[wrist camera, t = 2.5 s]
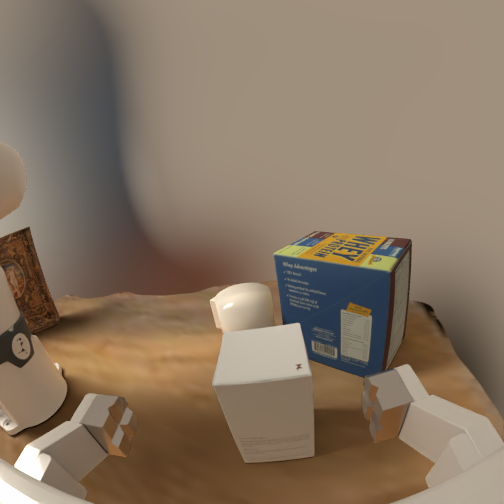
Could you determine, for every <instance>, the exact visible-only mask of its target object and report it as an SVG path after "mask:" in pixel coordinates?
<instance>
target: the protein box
mask: <svg viewBox="0 0 504 504" xmlns="http://www.w3.org/2000/svg"><path fill="white" fill-rule="evenodd" d="M411 248H412V241H411V239H403V238H389V237H378V236H366V235H355V234H342V233H329V232H317V231H315V232H313V233H311V234H309V235H307V236H306V237H304V238H302V239H300V240H298V241H296V242H295V243H293V244H291V245H289V246H287V247H285V248H283V249H281V250H279V251H277V252H275V253H274V254H273V255H274V260H275V267H276V275H277V281H278V289H279V297H280V304H281V312H282V320H283V325H287V324H294V323H300V326H301V331H302V335H303V338H304V342H305V346H306V350H307V354H308V358H309V359H311V360H313V361H316V362H319V363H322V364H325V365H327V366H330V367H333V368H336V369H339V370H342V371H345V372H348V373H351V374H354V375H358V376H361V377H364V378H365V376H367V375H371V374H375V373H379V372H382V371H386V370H387V369H388V367H389V365H390V363H391V362H392V360H393V358H394V356H395V354H396V353H397V351H398V349H399V347H400V345H401V343H402V341H403V339H404V336H405V328H406V320H407V311H408V302H409V289H410V275H411V250H412V249H411Z"/></svg>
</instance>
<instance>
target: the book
mask: <svg viewBox="0 0 504 504" xmlns="http://www.w3.org/2000/svg"><path fill="white" fill-rule="evenodd" d="M0 266H1V267H2V269H3V270H4V272H5V275H6V278H7V281H8V284H9V286H10V289H11V292H12V294H13V297H14V300H15V302H16V305H17V307H18V309H19V311H21V312H22V313H23V315H24V317H25V319H26V320H27V322H28V325H29V328H30V330H31V334H33V333H36V332H39V331H41V330H44V329H46V328H49V327H52V326H54V325H57V324H58V323H59V322H60V316H59V314H58V312H57V309H56V307H55V304H54V302H53V299H52V297H51V294H50V292H49V289H48V286H47V284H46V281H45V278H44V275H43V272H42V269H41V266H40V263H39V260H38V256H37V253H36V250H35V247H34V243H33V239H32V235H31V231H30V227H27V228H24V229H21V230H19V231H16V232H14V233H11V234H9V235H6V236H4V237H1V238H0Z"/></svg>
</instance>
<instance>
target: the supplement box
mask: <svg viewBox="0 0 504 504" xmlns="http://www.w3.org/2000/svg"><path fill="white" fill-rule="evenodd" d="M212 386H213V388H214V390H215V393H216V395H217V398H218V400H219V403H220V405H221V408H222V410H223V413H224V416H225V418H226V421H227V423H228V426H229V428H230V431H231V433H232V435H233V438H234V440H235V443H236V445H237V447H238V449H239V451H240V453H241V456H242V458H243V460H244V462H245V463H256V462H271V461H282V460H291V459H300V458H307V457H313V456H314V454H315V446H314V403H313V377H312V371H311V367H310V363H309V358H308V354H307V350H306V346H305V342H304V338H303V335H302V331H301V326H300V323H294V324H287V325H281V326H273V327H266V328H258V329H249V330H240V331H230V332H224V334H223V339H222V344H221V349H220V353H219V357H218V361H217V366H216V370H215V374H214V378H213V382H212Z"/></svg>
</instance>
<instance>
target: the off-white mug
mask: <svg viewBox="0 0 504 504" xmlns="http://www.w3.org/2000/svg"><path fill="white" fill-rule="evenodd" d="M210 304H211V308H212V312H213V316H214V320H215V324H216V327H217V328H221V329H222V332H223V334H224V332H230V331H240V330H249V329H258V328H266V327H273V326H275V320H274V313H273V306H272V299H271V292H270V289H269V288H268V287H267V286H266V285H263V284H259V283H243V284H238V285H234V286H231V287H228V288H226V289H224V290H222V291H221V292H219V293H218V294H217V296H216V297H214V298H213V299H211V300H210Z"/></svg>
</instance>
